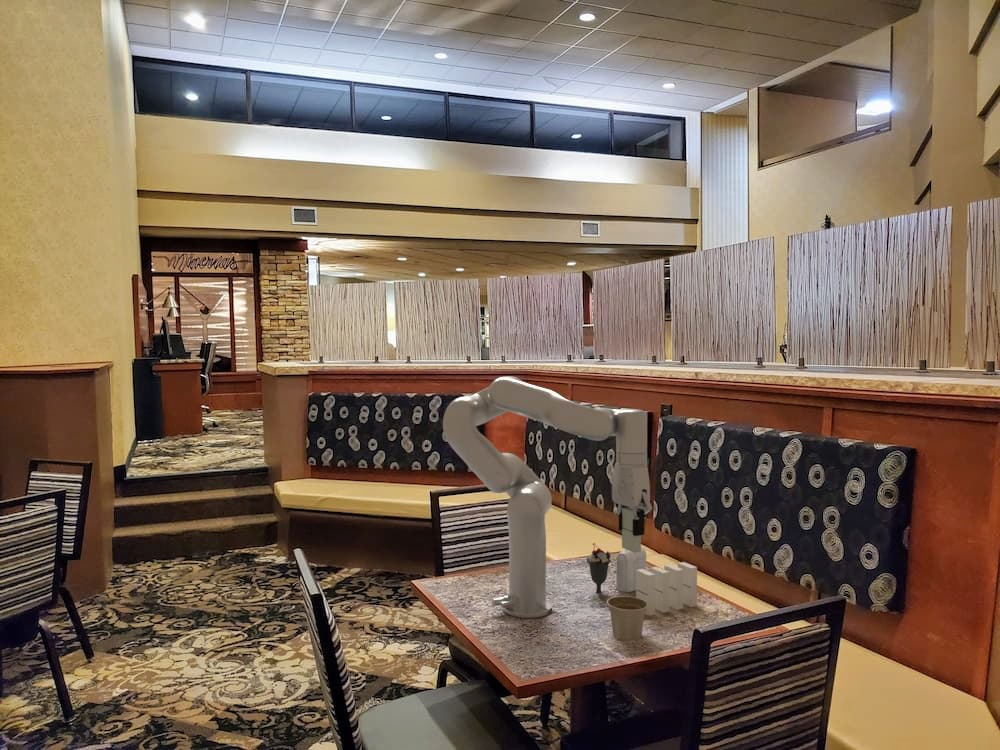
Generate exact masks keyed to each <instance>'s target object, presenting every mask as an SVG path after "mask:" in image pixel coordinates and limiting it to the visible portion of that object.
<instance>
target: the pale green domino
mask: <svg viewBox="0 0 1000 750" xmlns="http://www.w3.org/2000/svg"><path fill="white" fill-rule="evenodd" d="M639 511H640V509H638V513H639ZM633 519H635V518H634V513H633V508H630V507H625V508H622V531H621V549H623V550H624V549H627V550H629V551H632V552H634V553H635V552H641V547H642V535H639V536H634V535H633Z"/></svg>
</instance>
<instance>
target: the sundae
mask: <svg viewBox="0 0 1000 750" xmlns="http://www.w3.org/2000/svg"><path fill="white" fill-rule="evenodd" d="M592 545H593V550H592V551H591V554H590V555H589V557H587V558H586V562H587V563H588V566H589V572H590V577H591V580H592V582H593V583H595V585H596V589H595V590H596V591H595V593H596V594H599V595H600V594H602V593H603V592H602V585H603V584H604V583H605V582H606V581H607V577H608V572H609V571H608V570H609V566H610V565H609V563H611V562H612V559H610V558H611V554H610V551H608V550H607V551H606V552H605V551H604V550H602V549H601V548H599V547H598V546H597V545H596V543H594V542H593V543H592ZM595 547H596V548H597V549H596V550H595Z"/></svg>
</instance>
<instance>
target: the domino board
mask: <svg viewBox="0 0 1000 750" xmlns="http://www.w3.org/2000/svg"><path fill="white" fill-rule="evenodd" d="M702 609H706V607H705V606H702V605H701V604H698V603H697V606H694V607H690V606H687V605H685V604H683V609H679V610H676V609H674V608H672V607H670V606H669V612H664V613H662V612H661V611H659V610H657V609H655V614H654V615H650V616H648V615H646V614H645V615H644V621H648V620H654V619H658V618H664V617H668V616H673V615H677V614H681V613H682V614H683V613H688V612H693V611H696V610H697V611H698V610H702Z"/></svg>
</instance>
